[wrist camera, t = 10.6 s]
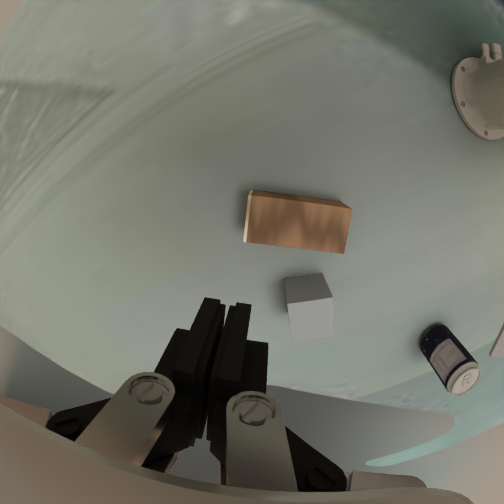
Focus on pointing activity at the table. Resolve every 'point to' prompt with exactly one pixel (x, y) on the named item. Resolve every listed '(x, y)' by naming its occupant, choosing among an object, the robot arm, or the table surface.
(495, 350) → the laptop
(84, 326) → the table surface
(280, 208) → the walnut block
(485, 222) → the table surface
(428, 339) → the beverage can
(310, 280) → the slate block
